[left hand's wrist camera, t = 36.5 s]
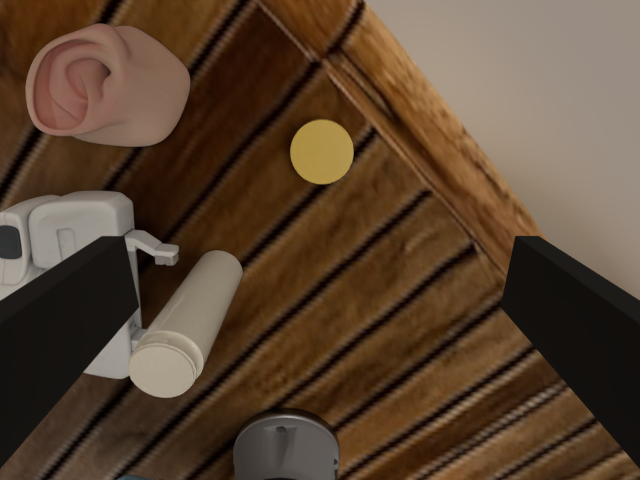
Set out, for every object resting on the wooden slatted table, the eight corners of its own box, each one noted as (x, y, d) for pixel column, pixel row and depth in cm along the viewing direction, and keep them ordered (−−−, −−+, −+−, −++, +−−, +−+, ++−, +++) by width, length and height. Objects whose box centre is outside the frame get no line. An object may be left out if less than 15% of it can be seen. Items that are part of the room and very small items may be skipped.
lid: (281, 133, 37) (280, 135, 35) (339, 108, 36) (340, 109, 34) (305, 189, 39) (304, 193, 37) (360, 167, 38) (362, 170, 37)
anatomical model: (179, 37, 30) (167, 171, 34) (195, 44, 34) (182, 164, 38) (12, -9, 29) (20, 136, 33) (47, 3, 33) (50, 132, 37)
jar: (228, 243, 41) (172, 333, 26) (250, 282, 43) (210, 388, 28) (187, 260, 42) (109, 357, 27) (210, 297, 44) (149, 409, 28)
